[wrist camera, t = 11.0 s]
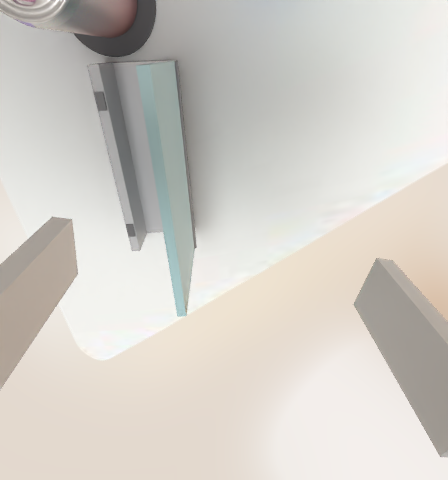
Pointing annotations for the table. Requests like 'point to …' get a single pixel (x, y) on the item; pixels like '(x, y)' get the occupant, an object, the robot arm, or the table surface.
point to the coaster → (129, 39)
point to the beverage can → (74, 15)
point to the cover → (170, 170)
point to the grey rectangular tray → (127, 145)
